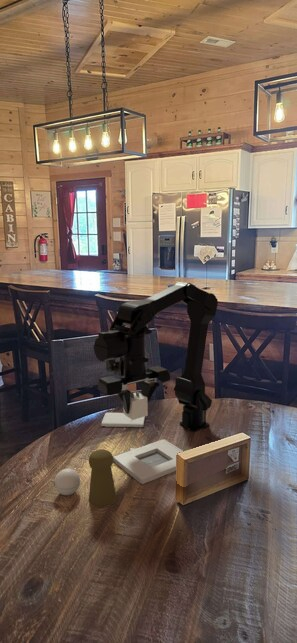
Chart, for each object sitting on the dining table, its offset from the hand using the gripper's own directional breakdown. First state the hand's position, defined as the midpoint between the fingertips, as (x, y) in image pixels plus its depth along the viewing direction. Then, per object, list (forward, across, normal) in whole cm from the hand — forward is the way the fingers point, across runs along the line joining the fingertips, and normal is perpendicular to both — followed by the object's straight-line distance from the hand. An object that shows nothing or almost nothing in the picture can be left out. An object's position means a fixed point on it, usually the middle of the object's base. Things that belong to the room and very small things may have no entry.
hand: (135, 411), depth 116 cm
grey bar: (+11, +6, +1) cm, 13 cm away
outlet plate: (+11, 0, +8) cm, 13 cm away
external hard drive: (+12, -6, -18) cm, 22 cm away
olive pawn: (+11, +18, +14) cm, 25 cm away
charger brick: (+1, 0, 0) cm, 1 cm away
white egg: (+11, +24, +8) cm, 28 cm away
